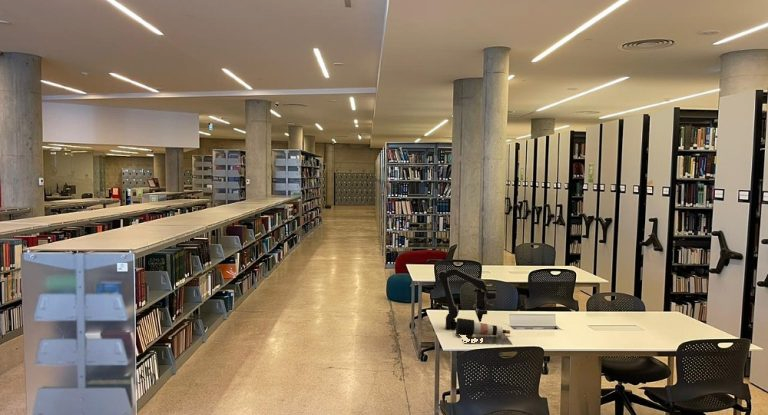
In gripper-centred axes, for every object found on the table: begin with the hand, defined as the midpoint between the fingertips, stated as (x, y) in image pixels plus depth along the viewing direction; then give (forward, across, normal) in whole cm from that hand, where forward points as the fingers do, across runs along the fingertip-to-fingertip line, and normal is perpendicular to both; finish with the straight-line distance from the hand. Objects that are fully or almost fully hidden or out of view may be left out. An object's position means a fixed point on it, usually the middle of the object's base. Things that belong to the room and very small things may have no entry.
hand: (480, 321), depth 357 cm
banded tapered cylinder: (+6, -12, 0) cm, 13 cm away
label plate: (+6, -17, 0) cm, 18 cm away
